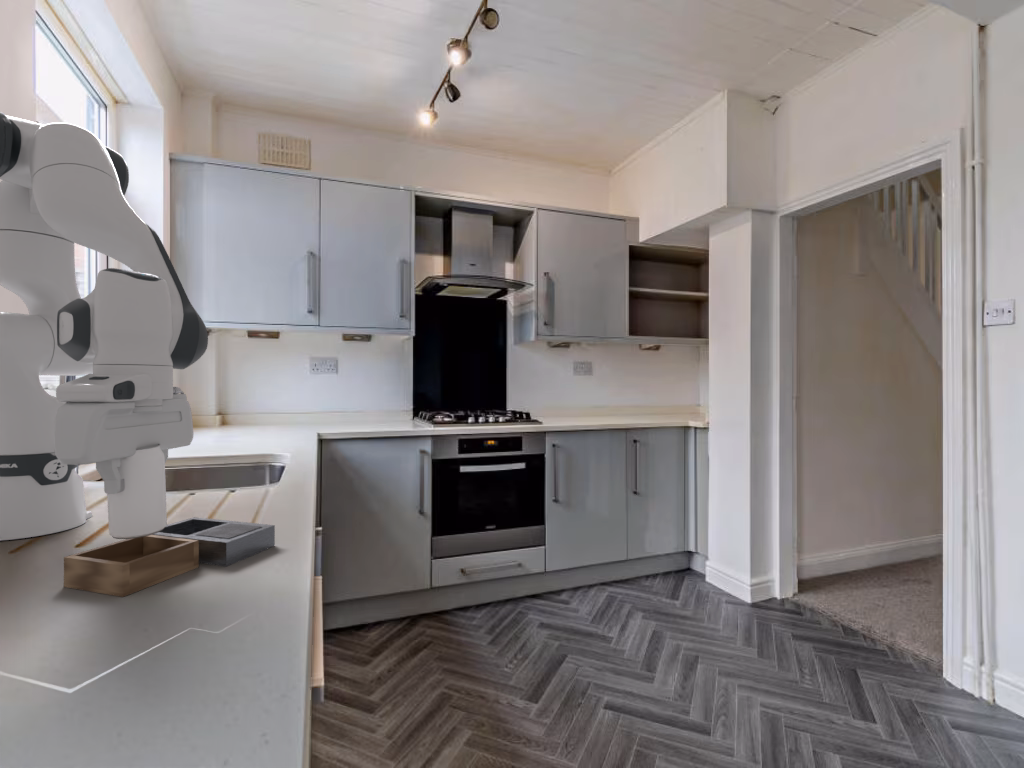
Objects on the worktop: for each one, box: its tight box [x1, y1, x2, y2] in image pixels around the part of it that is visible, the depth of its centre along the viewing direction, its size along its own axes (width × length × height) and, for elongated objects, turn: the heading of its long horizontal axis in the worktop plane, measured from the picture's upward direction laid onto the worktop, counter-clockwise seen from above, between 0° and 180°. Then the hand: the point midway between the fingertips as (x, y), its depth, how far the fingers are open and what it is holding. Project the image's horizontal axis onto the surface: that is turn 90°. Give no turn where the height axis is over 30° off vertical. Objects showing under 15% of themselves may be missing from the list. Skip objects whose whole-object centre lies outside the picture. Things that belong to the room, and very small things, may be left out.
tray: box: [152, 516, 276, 568], centre depth 80 cm, size 17×9×4 cm, turn 73°
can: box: [106, 444, 168, 540], centre depth 69 cm, size 6×6×12 cm
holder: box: [63, 535, 200, 598], centre depth 69 cm, size 11×11×4 cm
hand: (134, 487), depth 69 cm, fingers closed on can, 5 cm apart
